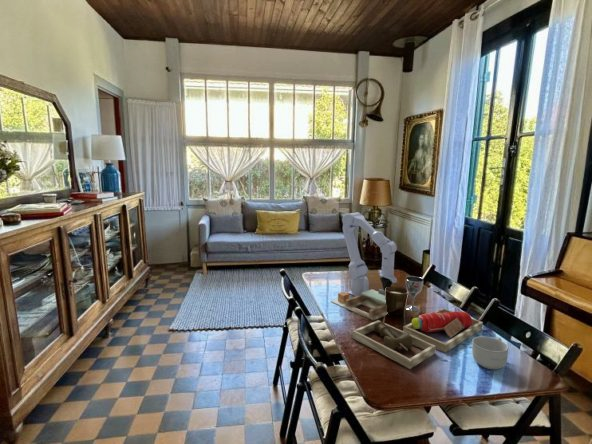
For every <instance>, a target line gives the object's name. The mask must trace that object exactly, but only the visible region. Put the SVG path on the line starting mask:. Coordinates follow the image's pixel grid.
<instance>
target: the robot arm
mask: <svg viewBox="0 0 592 444" xmlns="http://www.w3.org/2000/svg"><path fill="white" fill-rule="evenodd" d="M341 221H342V233H343V235H344V236H343V237H344V240H345V244H346V248H347V253H348V255H349V259H350V263H349V264H348V275H349V277H350V280H351V281H350V290H349V291H347V292H346V293H348V294H349V295H352V296H353V297H356V296H359V295H362V294H361V293H362V292H365V291H368V290H370V289H369V287H370V285H369V283H370V281H369V279H368V277H367V275H368V273H369V269H368V267H367V265H366V262H365V261H364V260H362V258H361V254H360V250H359V248H358V243H357V240H356V236H355V232H354V231H355V229H356V227H360V228H361V229H362V230H364V231H365V232H366V233H368V234H369V236H370V237H371V240H372V241H373V242H374V243H375V244H376V245H377V246H378V247H379V249H380V252H381V259H382V260H381V269H378V271H377V272H378V273H377V274H378V275H379V276H380V278H379V280H380V282H381V284H382V290H385V288H386V287H390V288H391V287H392V285H393V284H396V283H398V279H397V278H396V276H395V275H394V268H395V253H396V252H397V250H398V245H397V243H396V242H395V241H393V240H391V239H389V238H388V237H386V236H385V235H384V233H383V232H382V231H379V230H376V229H375V228H374V227H373V226H372V225H371V223H369V222H368V221H367V219H365V216H364V215H363V214H362V213H360V212H358V211H355V212H351V213H349V212H348V213H345V214H344V215H343V217H342V218H341Z"/></svg>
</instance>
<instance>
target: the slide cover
mask: <svg viewBox="0 0 592 444" xmlns="http://www.w3.org/2000/svg"><path fill="white" fill-rule="evenodd" d="M361 294H362V295H364V296H367V297H369V298H372V299H374V300H377V301H380V302H382V303H385V304H386V300H385V290H383V288H378V291H377V290H375V289H373V288H371V289H368V291H365V292H362V293H361Z"/></svg>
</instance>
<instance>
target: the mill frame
mask: <svg viewBox="0 0 592 444" xmlns="http://www.w3.org/2000/svg"><path fill="white" fill-rule="evenodd" d="M377 322H382V321H381V320H379V319H376V320H374V321H373V322H370V323H368V324H365V325H364V326H360V327H359V328H356V329H354V330H352V339H354V340H355V341H357V342H359V343H361V344H363V345H364V346H367V347H369V348H370V349H372V350H375V352H378V353H379V354H381V355H383V356H384V357H387V358H389V359H390V360H393V361H394V362H397V364H400V365H401V366H404V367H405V368H407V369H409V370H411V369H413V368H414V367H416V366H417V365H419V364H421V363H422V362H424V361H425V360H427V359H429V358H430V357H432V356H433V355H435V354H436V346H435V345H433V344H430V343H428V342H426V341H424V340H422V339H419V338H417V337H415V336H413V335H410V334H409V335H410V336H411V338H412V342H413V345H412V346H415V347H417V348H419V349H422V351H420V352H419V353H417V354H415V355H414V356H412V357H407V356H406V355H404V354H401V353H400V352H398V351H396V350H395V349H394V350H392V349H390V348H388V347H386V346H384V344H382V343H381V342H378V341H376V340H374V339H372V338H370V337H368V336H366V335H367V334H369V333H371V332H374V326H375V324H376V323H377ZM384 324H385V326H387V327H389V329H390V332H391V334H392V335H393V336H394V337H395V338H398V337H400V336H401V335H402V334H403V333H404V331H403V330H401V329H400V328H399V329H398V328H396V327H394V326H392V325H390V324H388V323H386V322H384Z"/></svg>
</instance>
